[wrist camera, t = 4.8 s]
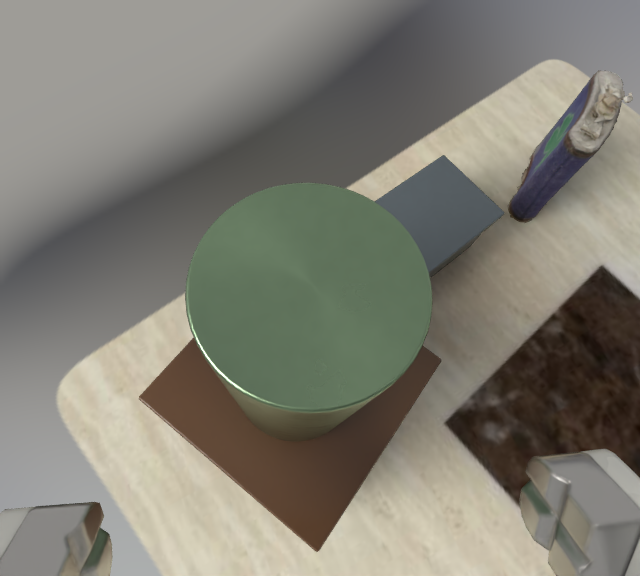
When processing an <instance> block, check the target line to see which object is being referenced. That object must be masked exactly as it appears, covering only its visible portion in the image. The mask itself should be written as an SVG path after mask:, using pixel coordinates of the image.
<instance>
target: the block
mask: <svg viewBox="0 0 640 576" xmlns="http://www.w3.org/2000/svg"><path fill="white" fill-rule="evenodd" d="M440 362H441V359H440V358H439V357H438V356H436V355H435V354H433V353H432V352H431V351H429V350H428V349H426V348H425V347H424V346H422V348H421V350H420V351H419V353H418V355H417V357H416V358H415V360H414V362H413V363H412V364H411V365H410V367H409V368H408V369H407V371H406V372H405V373H404V374H403V375H402V376H401V377H400V378H399V379H398V380H397V381H396V382H395V383H394V384H393V385H391V386H390V387H389V388H387V389H386V390H385V391H383V392H382V393H381V394H379V395H378V396H377V397H375V398H374V399H373V400H371V401H370V402H368V403H367V404H366V405H364V406H363V407H362V408H360V409H359V410H358V411H356V412H355V413H354V414H352V415H351V416H350V417H348V418H347V419H345V420H344V421H343V422H341V423H340V424H339V425H337V426H336V427H335V428H333V429H332V430H330V431H329V432H328V433H326V434H324V435H322V436H320V437H317V438H314V439H311V440H306V441H297V442H295V441H285V440H280V439H277V438H274V437H272V436H270V435H268V434H266V433H264V432H263V431H261V430H260V429H258V428H257V427H256V426H255V425H254V424H253V423H252V422H251V421H250V420H249V418H248V417H247V416H246V415H245V413H244V412H243V410H242V409H241V408H240V406H239V405H238V403H237V402H236V401H235V399H234V398H233V397H232V395H231V394H230V392H229V391H228V390H227V388H226V387H225V385H224V384H223V383H222V381H221V380H220V379H219V377H218V376H217V374H216V373H215V372H214V370H213V369H212V367H211V366H210V365H209V363H208V362H207V361H206V359H205V358H204V356H203V354H202V352H201V351H200V349H199V347H198V346H197V344H196V341H195V339H194V338H193V339H192V340H191V341H190V342H189V343H188V344H187V345H186V346H185V348H184V349H183V350H182V351H181V352H180V353H179V354H178V355H177V356H176V357H175V358H174V359H173V361H172V362H171V363H170V364H169V365H168V366H167V367H166V368H165V369H164V370H163V371H162V373H161V374H160V375H159V376H158V377H157V378H156V379H155V380H154V381H153V382H152V383H151V384H150V386H149V387H148V388H147V389H146V390H145V391H144V392H143V393H142V394H141V395H140V396H139V400H140V401H142V402H143V403H144V404H145V405H146V406H147V407H149V408H150V409H151V410H152V411H153V412H154V413H156V414H157V415H158V416H159V417H160V418H161V419H163V420H164V421H165V422H166V423H167V424H168V425H170V426H171V427H172V428H173V429H174V430H175V431H176V432H178V433H179V434H180V435H181V436H182V437H183V438H185V439H186V440H187V441H188V442H189V443H190V444H192V445H193V446H194V447H195V448H196V449H197V450H199V451H200V452H201V453H202V454H203V455H204V456H206V457H207V458H208V459H209V460H210V461H211V462H213V463H214V464H215V465H216V466H217V467H218V468H219V469H221V470H222V471H223V472H224V473H225V474H226V475H228V476H229V477H230V478H231V479H232V480H233V481H235V482H236V483H237V484H238V485H239V486H240V487H242V488H243V489H244V490H245V491H246V492H247V493H249V494H250V495H251V496H252V497H253V498H254V499H256V500H257V501H258V502H259V503H260V504H261V505H262V506H264V507H265V508H266V509H267V510H268V511H269V512H271V513H272V514H273V515H274V516H275V517H276V518H278V519H279V520H280V521H281V522H282V523H283V524H285V525H286V526H287V527H288V528H289V529H290V530H292V531H293V532H294V533H295V534H296V535H297V536H299V537H300V538H301V539H302V540H303V541H304V542H306V543H307V544H308V545H309V546H310V547H311V548H312V549H314V550H315V551H316V552H318V551H319V550H320V549H321V547H322V546H323V544H324V542H325V541H326V539H327V538H328V536H329V535H330V533H331V532H332V530H333V529H334V527H335V525H336V524H337V522H338V521H339V519H340V518H341V516H342V515H343V513H344V511H345V510H346V508H347V507H348V505H349V504H350V502H351V501H352V499H353V497H354V496H355V494H356V493H357V491H358V490H359V488H360V487H361V485H362V483H363V482H364V480H365V479H366V477H367V476H368V474H369V473H370V471H371V469H372V468H373V466H374V465H375V463H376V462H377V460H378V459H379V457H380V455H381V454H382V452H383V451H384V449H385V448H386V446H387V445H388V443H389V442H390V440H391V438H392V437H393V435H394V434H395V432H396V431H397V429H398V428H399V426H400V424H401V423H402V421H403V420H404V418H405V417H406V415H407V414H408V412H409V410H410V409H411V407H412V406H413V404H414V403H415V401H416V400H417V398H418V396H419V395H420V393H421V392H422V390H423V389H424V387H425V386H426V384H427V382H428V381H429V379H430V378H431V376H432V375H433V373H434V372H435V370H436V368H437V367H438V365H439V364H440Z"/></svg>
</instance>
